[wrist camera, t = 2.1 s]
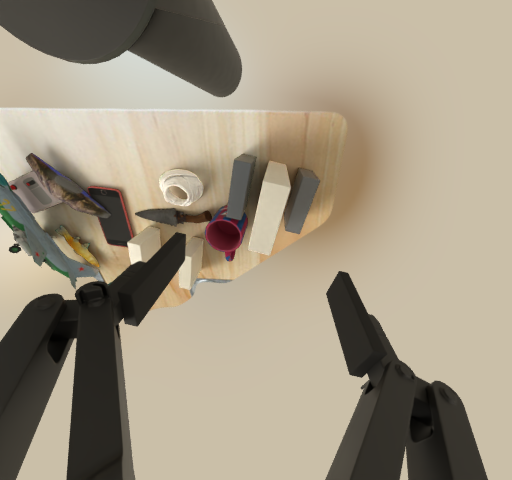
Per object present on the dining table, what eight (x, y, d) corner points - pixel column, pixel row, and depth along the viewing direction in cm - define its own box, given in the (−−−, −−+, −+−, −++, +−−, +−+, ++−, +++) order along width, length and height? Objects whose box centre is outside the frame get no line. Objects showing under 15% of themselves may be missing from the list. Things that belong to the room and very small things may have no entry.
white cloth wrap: (203, 167, 35) (194, 169, 31) (208, 203, 38) (201, 209, 33) (161, 169, 35) (146, 172, 31) (169, 204, 38) (157, 211, 34)
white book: (258, 208, 37) (247, 250, 24) (269, 160, 32) (263, 180, 20) (272, 211, 37) (269, 255, 24) (286, 164, 32) (291, 187, 20)
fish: (101, 266, 46) (90, 273, 48) (109, 261, 48) (98, 268, 49) (58, 224, 42) (48, 233, 44) (68, 221, 44) (58, 229, 45)
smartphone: (119, 190, 37) (135, 248, 44) (121, 189, 38) (137, 247, 45) (85, 185, 37) (107, 244, 45) (87, 185, 38) (109, 243, 45)
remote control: (77, 196, 40) (63, 200, 37) (29, 215, 43) (13, 220, 41) (52, 164, 36) (35, 166, 34) (2, 187, 40) (-16, 191, 38)
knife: (209, 212, 36) (205, 237, 38) (213, 212, 39) (209, 235, 40) (131, 192, 38) (130, 216, 39) (139, 192, 40) (137, 215, 41)
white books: (152, 257, 46) (133, 276, 40) (148, 226, 42) (127, 242, 36) (201, 269, 47) (190, 289, 41) (203, 238, 42) (191, 257, 36)
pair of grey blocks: (234, 202, 37) (226, 217, 31) (242, 153, 32) (234, 159, 26) (296, 217, 37) (299, 234, 31) (312, 170, 33) (320, 180, 26)
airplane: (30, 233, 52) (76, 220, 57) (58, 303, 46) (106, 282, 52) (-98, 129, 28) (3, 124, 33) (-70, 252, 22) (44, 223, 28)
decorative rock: (110, 214, 39) (95, 229, 40) (115, 211, 41) (101, 225, 42) (25, 150, 33) (10, 170, 34) (37, 150, 35) (23, 169, 36)
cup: (248, 206, 37) (242, 220, 31) (246, 248, 42) (241, 268, 36) (215, 203, 37) (203, 217, 32) (217, 245, 42) (207, 264, 37)
